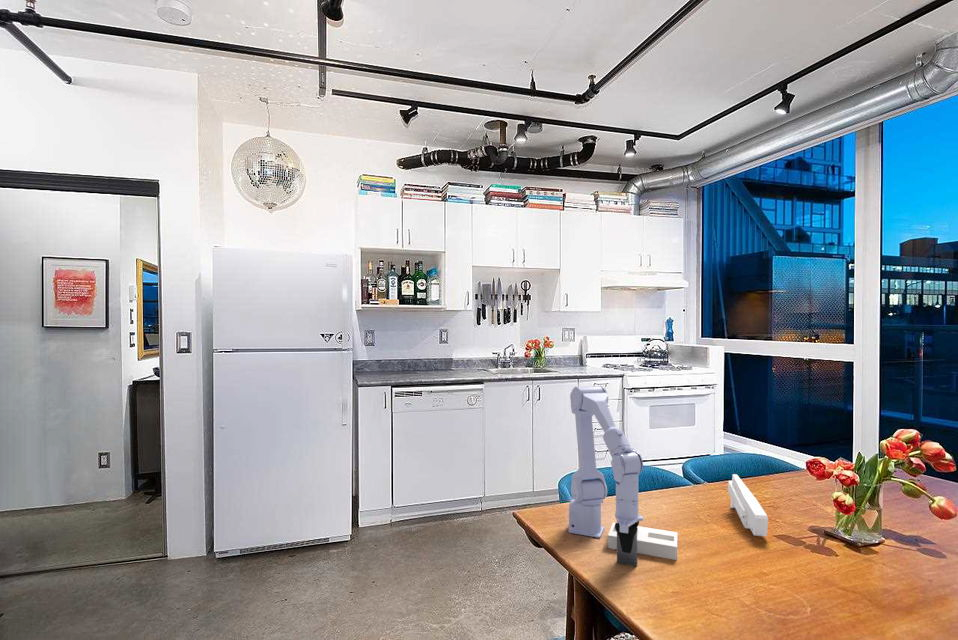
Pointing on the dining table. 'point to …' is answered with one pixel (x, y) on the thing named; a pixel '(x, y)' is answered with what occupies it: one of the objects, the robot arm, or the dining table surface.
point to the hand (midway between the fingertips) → (627, 550)
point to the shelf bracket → (747, 507)
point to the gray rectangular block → (627, 557)
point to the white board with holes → (650, 542)
